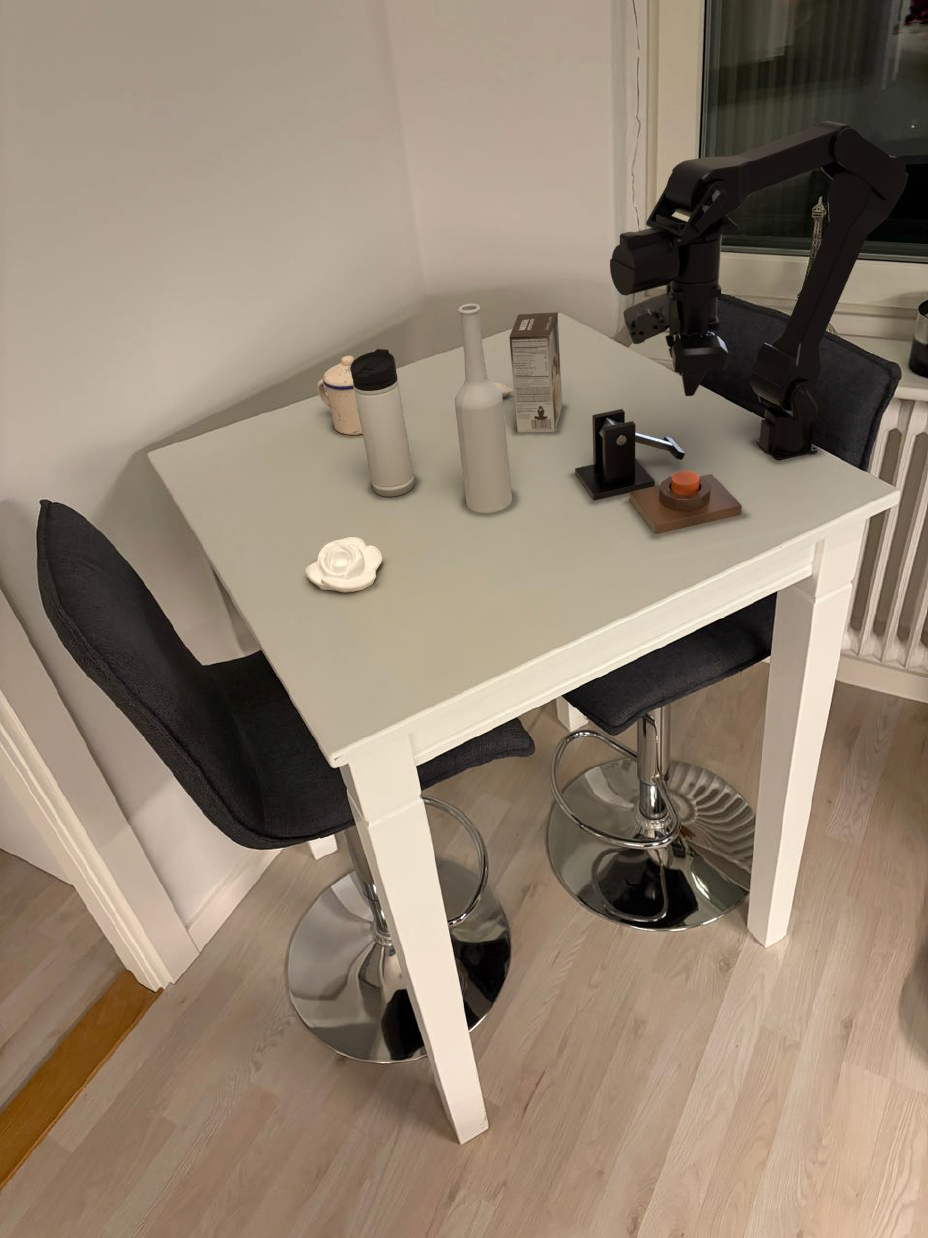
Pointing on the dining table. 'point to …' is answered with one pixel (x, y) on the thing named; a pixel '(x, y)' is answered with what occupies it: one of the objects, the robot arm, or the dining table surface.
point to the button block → (684, 505)
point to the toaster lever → (651, 441)
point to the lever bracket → (613, 460)
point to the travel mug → (383, 422)
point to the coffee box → (536, 372)
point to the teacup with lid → (341, 397)
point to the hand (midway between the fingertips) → (689, 394)
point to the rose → (345, 565)
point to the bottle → (481, 425)
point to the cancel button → (685, 483)
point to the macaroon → (503, 389)
